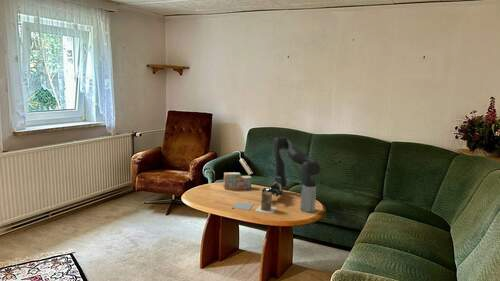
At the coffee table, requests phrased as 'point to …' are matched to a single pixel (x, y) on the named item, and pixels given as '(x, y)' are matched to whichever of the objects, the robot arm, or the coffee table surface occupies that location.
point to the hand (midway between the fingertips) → (270, 194)
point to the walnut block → (266, 201)
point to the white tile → (265, 210)
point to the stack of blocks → (236, 181)
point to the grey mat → (242, 206)
